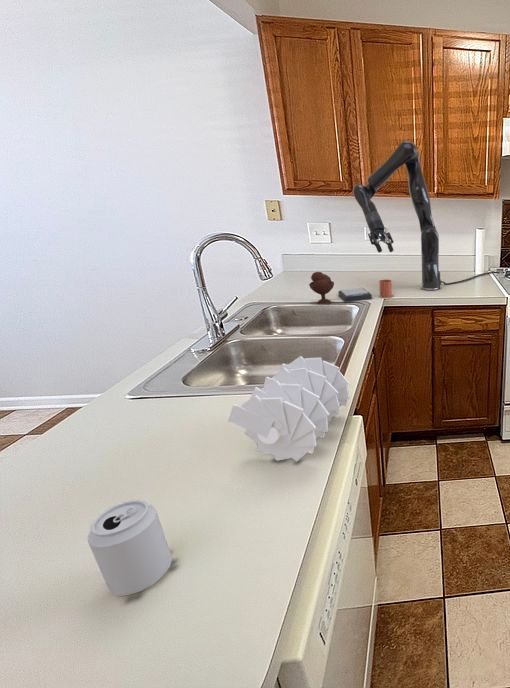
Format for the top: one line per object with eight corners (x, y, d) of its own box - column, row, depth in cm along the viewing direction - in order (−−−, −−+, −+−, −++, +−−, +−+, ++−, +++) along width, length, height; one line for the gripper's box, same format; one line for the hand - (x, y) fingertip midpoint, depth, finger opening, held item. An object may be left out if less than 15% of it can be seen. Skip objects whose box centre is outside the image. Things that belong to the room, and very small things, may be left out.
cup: (389, 294, 207) (388, 279, 204) (393, 296, 202) (393, 281, 200) (378, 295, 204) (377, 280, 201) (382, 298, 199) (381, 282, 197)
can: (104, 578, 59) (77, 517, 55) (164, 545, 65) (144, 487, 61) (117, 610, 55) (90, 547, 51) (180, 572, 61) (160, 512, 56)
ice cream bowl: (328, 306, 184) (324, 274, 179) (306, 304, 186) (302, 273, 181) (340, 300, 194) (337, 270, 189) (319, 298, 196) (316, 268, 191)
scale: (363, 292, 208) (363, 287, 207) (371, 298, 198) (371, 293, 197) (338, 295, 202) (338, 289, 201) (345, 302, 191) (344, 296, 190)
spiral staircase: (341, 422, 105) (296, 486, 82) (278, 393, 103) (214, 451, 80) (366, 366, 100) (326, 418, 76) (301, 335, 98) (239, 378, 74)
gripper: (369, 218, 194) (381, 248, 194) (388, 219, 206) (400, 248, 206) (359, 225, 198) (371, 255, 198) (379, 226, 210) (390, 254, 210)
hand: (386, 251), depth 202 cm, fingers open, 8 cm apart
